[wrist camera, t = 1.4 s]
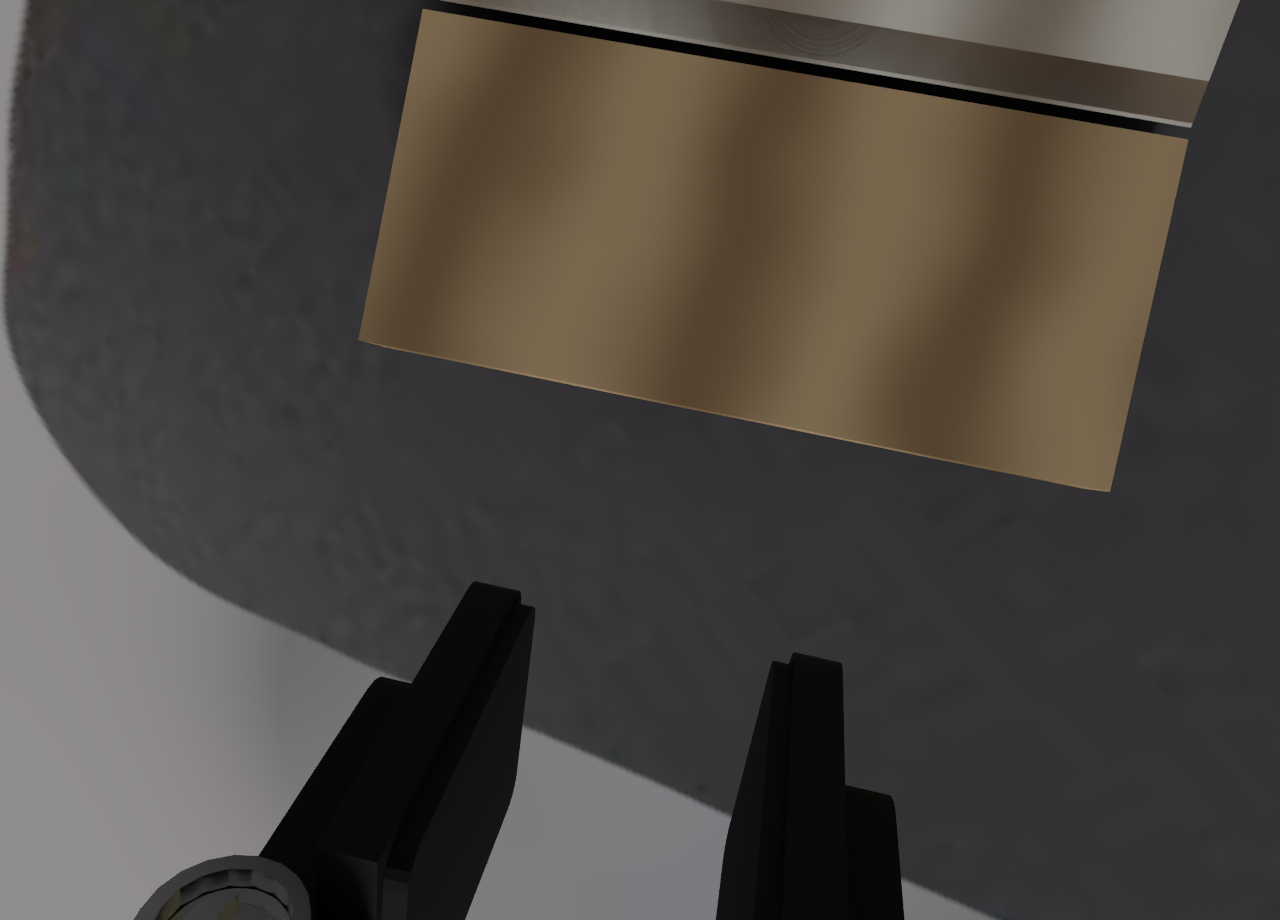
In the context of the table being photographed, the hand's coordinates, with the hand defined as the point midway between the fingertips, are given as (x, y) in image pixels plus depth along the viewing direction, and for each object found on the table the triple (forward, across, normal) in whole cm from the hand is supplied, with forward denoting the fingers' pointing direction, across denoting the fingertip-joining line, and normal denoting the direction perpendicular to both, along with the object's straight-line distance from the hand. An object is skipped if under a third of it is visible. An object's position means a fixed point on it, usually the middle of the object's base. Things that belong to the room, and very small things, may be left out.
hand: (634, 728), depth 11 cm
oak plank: (+19, 0, -1) cm, 19 cm away
